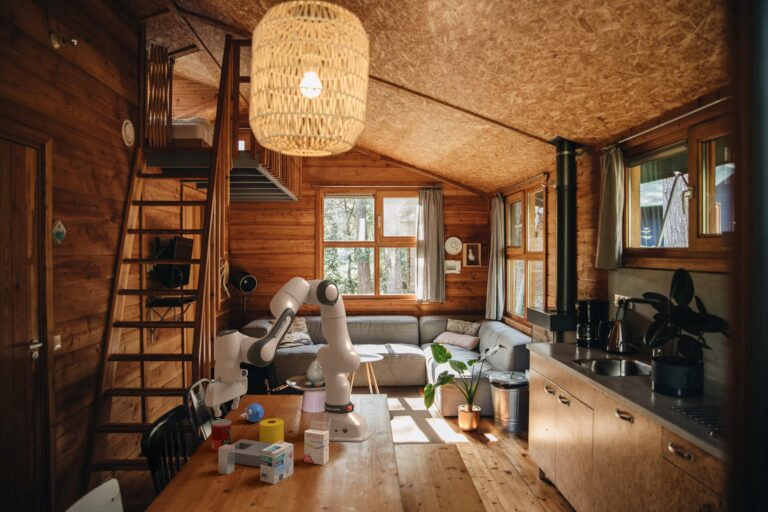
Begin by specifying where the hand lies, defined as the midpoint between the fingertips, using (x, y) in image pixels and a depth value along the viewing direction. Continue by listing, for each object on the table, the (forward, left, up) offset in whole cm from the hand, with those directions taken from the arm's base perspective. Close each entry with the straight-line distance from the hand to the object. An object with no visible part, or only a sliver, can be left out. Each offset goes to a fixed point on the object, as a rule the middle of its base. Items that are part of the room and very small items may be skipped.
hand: (226, 412), depth 178 cm
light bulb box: (-20, -2, -22) cm, 30 cm away
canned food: (+16, -18, -22) cm, 32 cm away
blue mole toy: (+24, -51, -22) cm, 60 cm away
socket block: (-2, -14, -21) cm, 26 cm away
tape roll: (-1, -29, -22) cm, 36 cm away
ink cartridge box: (-27, -19, -22) cm, 40 cm away
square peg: (0, 0, -21) cm, 21 cm away
